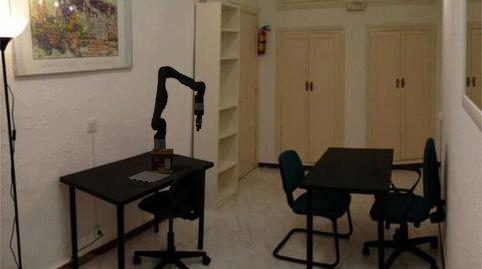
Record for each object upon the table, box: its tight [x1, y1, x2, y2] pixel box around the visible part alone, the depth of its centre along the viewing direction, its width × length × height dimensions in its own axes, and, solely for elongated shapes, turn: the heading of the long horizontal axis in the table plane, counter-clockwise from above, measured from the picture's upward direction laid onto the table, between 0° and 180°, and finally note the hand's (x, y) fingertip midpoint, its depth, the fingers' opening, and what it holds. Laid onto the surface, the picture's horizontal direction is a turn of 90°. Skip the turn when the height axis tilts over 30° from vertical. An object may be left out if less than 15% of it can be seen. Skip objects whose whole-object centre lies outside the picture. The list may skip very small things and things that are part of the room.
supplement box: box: [150, 148, 175, 174], centre depth 348 cm, size 10×15×16 cm
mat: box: [128, 170, 171, 183], centre depth 336 cm, size 22×19×1 cm
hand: (199, 130), depth 356 cm, fingers open, 8 cm apart
